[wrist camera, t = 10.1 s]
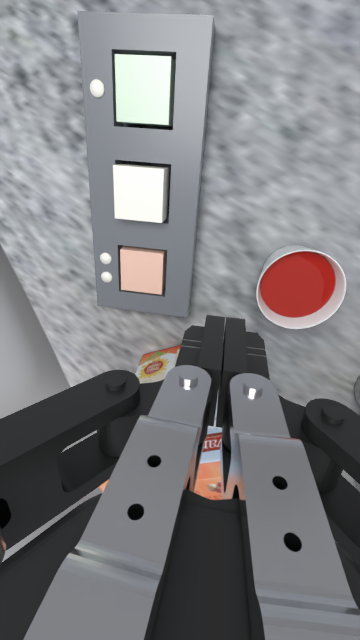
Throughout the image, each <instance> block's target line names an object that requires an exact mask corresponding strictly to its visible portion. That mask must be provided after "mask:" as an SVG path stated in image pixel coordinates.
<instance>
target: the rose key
mask: <svg viewBox="0 0 360 640" xmlns="http://www.w3.org/2000/svg"><path fill="white" fill-rule="evenodd" d="M120 262H121V290H128V291H136V292H144V293H152V294H160V295H162V293H163V291H164V289H165V287H166V268H167V250H161V249H152V248H142V247H133V246H123V247H122V248H121V249H120Z"/></svg>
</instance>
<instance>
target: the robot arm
mask: <svg viewBox="0 0 360 640" xmlns="http://www.w3.org/2000/svg"><path fill="white" fill-rule="evenodd" d="M224 323H225V317H220V316H211V315H207V317H206V322H205V327H201V326H191V327H190V328H189V329H187V330H186V331H185V334H184V337H183V340H182V344H181V347H180V351H179V354H178V357H177V361H176V364H175V367H174V368H172V369H171V370H170V371H169V372H168V373H167V375H166V377H165V379H163V380H161V381H157V382H152V383H141V384H140V381H139V379H138V377H137V376H136V375H135V374H133V373H131V372H129V371H125V370H112V371H108V372H105V373H102V374H100V375H98V376H96V377H93V378H91V379H89V380H87V381H85V382H82V383H80V384H78V385H76V386H73V387H71V388H69V389H67V390H64V391H62V392H60V393H58V394H55V395H53V396H51V397H49V398H47V399H44V400H42V401H40V402H38V403H35V404H33V405H31V406H29V407H27V408H24V409H22V410H20V411H18V412H15V413H13V414H11V415H8V416H6V417H4V418H2V419H0V640H360V492H359V491H358V490H357V489H356V488H355V487H354V486H352V485H351V484H350V483H349V482H348V481H347V480H346V479H345V478H344V477H342V475H341V473H342V471H343V470H345V471H346V472H347V473H348V474H349V475H350V476H351V477H352V478H353V479H355V480H356V481H357V482H358V483H359V484H360V416H359V415H358V414H356V413H355V412H353V411H352V410H351V409H349V408H348V407H346V406H345V405H343V404H341V403H339V402H336V401H333V400H329V399H314V400H311V401H310V402H309V403H308V404H307V405H306V407H304V406H301V405H298V404H295V403H293V402H290V401H288V400H286V399H284V398H282V397H281V396H280V395H278V392H277V389H276V387H275V385H274V384H273V383H272V382H271V381H270V379H269V372H268V366H267V359H266V352H265V345H264V340H263V339H262V338H261V337H260V336H259V334H258V333H252V332H246V328H245V319H238V318H229V317H226V324H225V331H224ZM223 337H224V339H223ZM354 394H355V397H356V400H357V402H358V404H359V406H360V377H359V378H358V380H357V382H356V384H355V387H354ZM217 397H218V402H217ZM216 405H217V415H216V427H220V428H222V438H221V444H220V465H221V494H222V500H210V499H207V498H205V497H203V496H201V495H198V494H196V493H194V490H195V485H196V480H197V475H198V470H199V466H200V461H201V456H202V451H203V447H204V440H205V439H206V437H207V431H208V426H213V427H214V420H215V412H216ZM95 430H97V433H95V434H93V435H92V436H90V437H88V438H86V439H85V440H83V441H81V442H79V443H78V444H76V445H74V446H73V447H71V448H69V449H67V450H65V451H64V452H62V451H63V450H64V449H65V448H66V447H67V446H69V445H71V444H72V443H74V442H76V441H78V440H79V439H81V438H83V437H85V436H87V435H88V434H90V433H92V432H94V431H95ZM61 452H62V453H61ZM107 480H109V481H108V483H107V485H106V487H105V489H104V491H103V493H102V494H99V495H97V496H95V497H92V498H90V499H89V500H87V501H85V502H83V503H82V504H80V505H79V506H77V507H76V508H75V509H73V510H72V511H71V512H69V513H68V514H67V515H65V516H64V517H63V518H61V519H60V520H58V521H57V522H56V523H54V524H53V525H52V526H50V527H49V528H48V529H46V530H45V531H44V532H42V533H41V534H40V535H38V536H37V537H36V538H34V539H33V540H32V541H30V542H29V543H28V544H26V545H25V546H24V547H22V548H21V549H20V550H19V551H17V552H16V553H14V554H13V555H12V556H10V557H9V558H8V559H6V560H5V561H4V562H2V560H3V558H4V555H5V551H6V550H8V549H9V548H11V547H12V546H14V545H15V544H16V543H18V542H19V541H21V540H22V539H24V538H25V537H27V536H28V535H29V534H31V533H32V532H34V531H35V530H36V529H38V528H40V527H41V526H42V525H44V524H45V523H47V522H48V521H50V520H51V519H52V518H54V517H55V516H57V515H58V514H60V513H61V512H63V511H64V510H66V509H67V508H68V507H70V506H71V505H73V504H74V503H76V502H77V501H79V500H80V499H81V498H83V497H84V496H86V495H87V494H89V493H90V492H91V491H93V490H94V489H96V488H97V487H99V486H100V485H102V484H103V483H105V482H106V481H107ZM334 540H335V541H336V542H337V543H338V544H339V545H338V544H337V543H336V542H335V541H334Z"/></svg>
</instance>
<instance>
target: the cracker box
mask: <svg viewBox="0 0 360 640" xmlns="http://www.w3.org/2000/svg"><path fill="white" fill-rule="evenodd" d="M223 339H224V337H223ZM180 347H181V345H180V346H176V347H172V348H168V349H164V350H160V351H156V352H152V353H148V354H144V355H143V357H142V359H141V361H140V364H139V366H138V368H137V371H136V373H135V375H136V376H137V377H138V379H139V381H140V384H141V383H152V382H157V381H161V380H163V379H165V377H166V375H167V373H168V372H169V371H170V370H171V369H172V368H174V367H175V364H176V361H177V357H178V354H179V351H180ZM217 402H218V397H217ZM216 415H217V405H216V412H215V420H214V427H213V426H208V431H207V437H206V439H205V440H204V447H203V451H202V456H201V461H200V466H199V470H198V475H197V480H196V485H195V490H194V493H196V494H198V495H201V496H203V497H205V498H207V499H210V500H222V494H221V465H220V444H221V438H222V428H220V427H216ZM108 481H109V480H107V481H106V482H105V483H103V484H102V485H100V486H99V488H100V489H101V490H102V492H103V491H104V489H105V487H106V485H107V483H108Z"/></svg>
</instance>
